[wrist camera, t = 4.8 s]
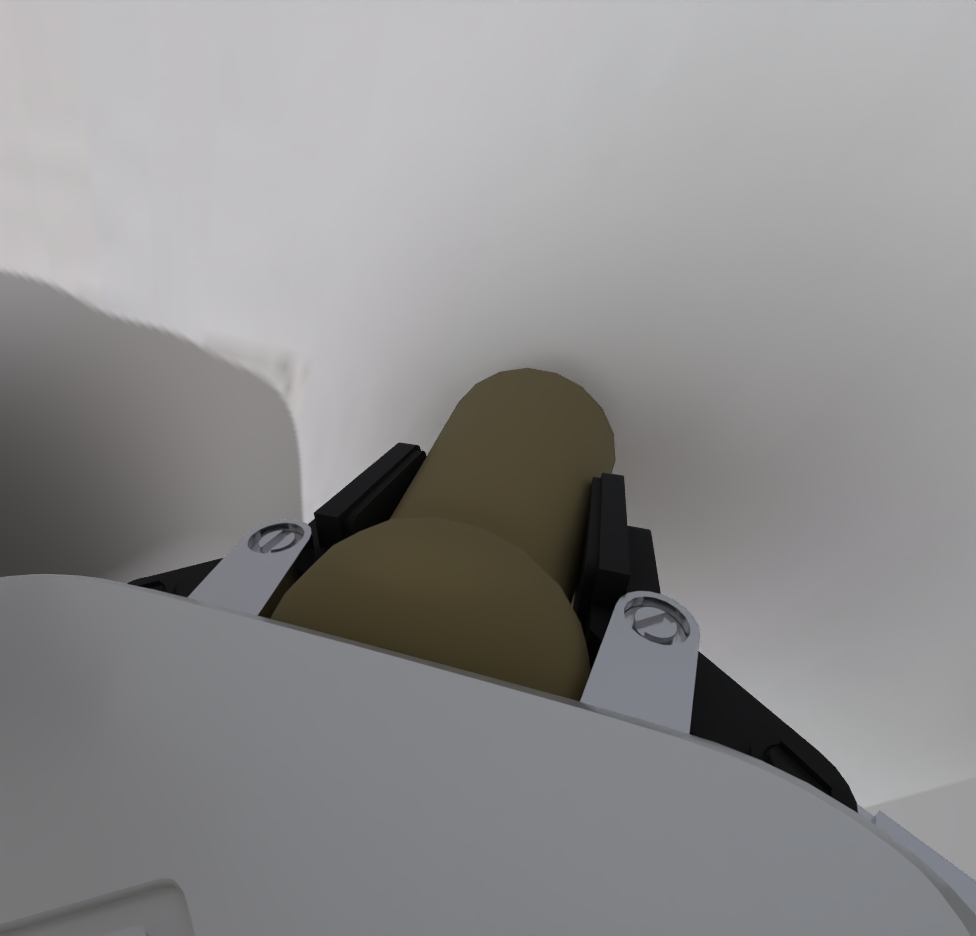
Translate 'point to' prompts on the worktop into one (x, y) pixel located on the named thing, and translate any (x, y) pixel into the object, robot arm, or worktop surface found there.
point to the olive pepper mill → (478, 542)
